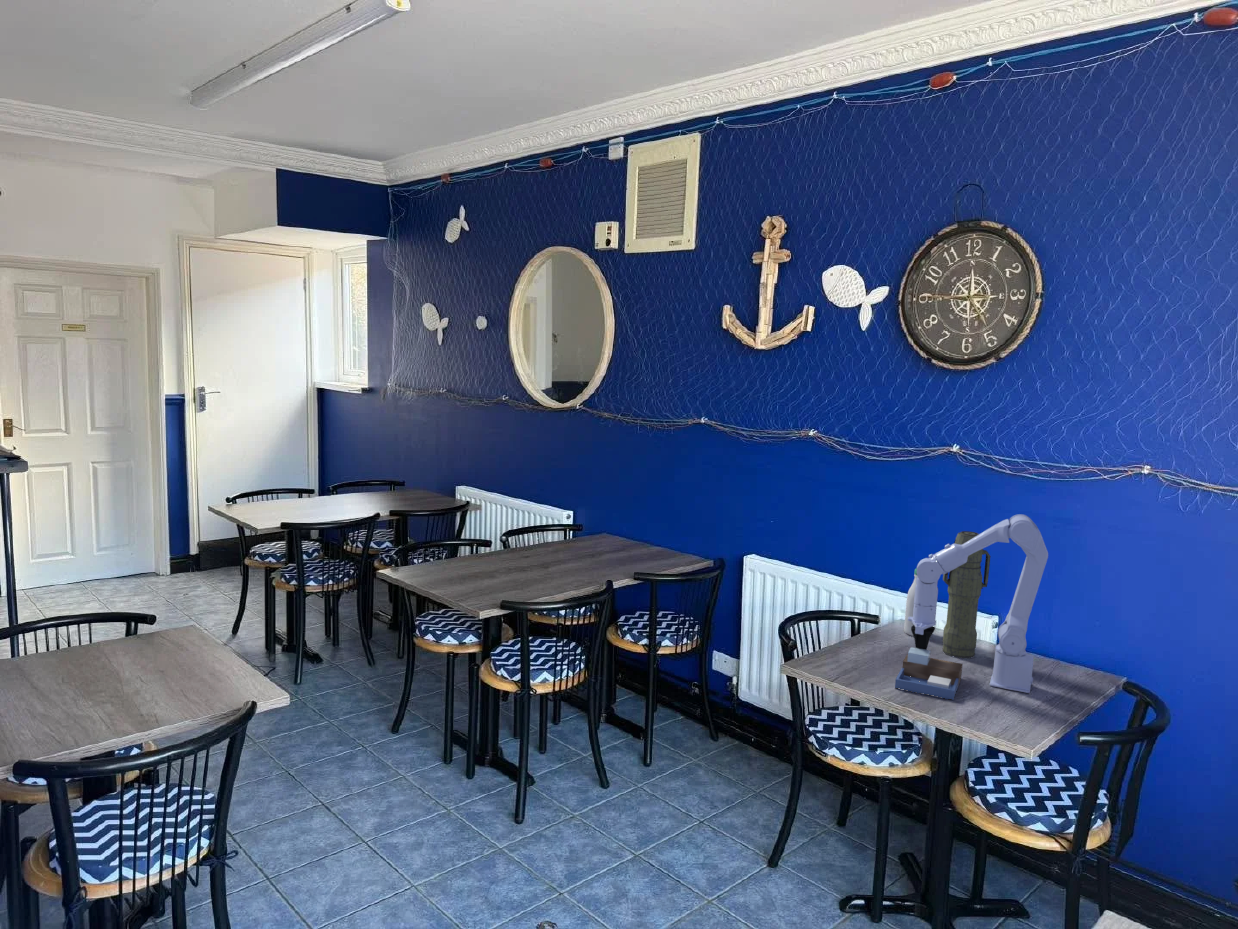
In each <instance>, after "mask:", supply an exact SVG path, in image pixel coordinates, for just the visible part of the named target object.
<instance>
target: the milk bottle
mask: <svg viewBox="0 0 1238 929" xmlns="http://www.w3.org/2000/svg"><path fill="white" fill-rule="evenodd" d="M913 576H914V579H913V581H912V584H911V586H910V587H909V589H908V591H907V595H906V601H905V602H906V604H905V612H904V614H905V615H904V625H903V627H904V628H903V631H904V633H905V634H906V635H908V636H912V637H914V636H913V633H912V631H911V627H912V626H913V625H914V624H913V623H912V622H911V621H908V617H913V608H914V596H915V586H916V585H917V584H916V579H917V577H918V576H917V567H916V568H915V569H914V575H913Z"/></svg>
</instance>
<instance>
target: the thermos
mask: <svg viewBox="0 0 1238 929" xmlns="http://www.w3.org/2000/svg"><path fill="white" fill-rule="evenodd" d="M979 534H980V533H978V532H976V531H968V530H963V531H960V532H958V533H957V534H956V536H955V539H954V543H955V544H959V545H962V544H964V543H966V542H967V541H969V540H971V539H972V538H974V537H976V536H977V535H979ZM954 543H953V544H954ZM983 555H984V556H985V561H984V570H983V571H984V572H983V573H984V574H983V573H982V565H981V563H982V560H983ZM990 565H991V554H990V553H989V552H988V550H987V549H984V548H983V549H981V550H979V551H977V552H975V553H973V554H971V555H969V556H968V559H967V562H966V563H965V564H963V565H961V566H959V567H957V568H955V569H954V570H952V571H950V572H948V573H946V574H942V581H943V582H944V583H945V584H946V585H947V593H948V602H947V615H946V623H945V625H944V627H943V636H942V651H943V652H944V653H945V655H947V656H948V657H952V656H954V657H953V658H956V657H958V658H957V659H964V658H967V659H972V658H971V657H973V658H974V657H975V655H976V654H975V650H976V648H977V641H978V640H977V639H978V632H977V629H976V628H977V618H978V610H979V599H980V597H981V595H982V589H983V588H987V587H988V582H989V578H990V577H989V576H990ZM982 574H983V575H982ZM943 652H942V653H943ZM944 653H943V654H944Z"/></svg>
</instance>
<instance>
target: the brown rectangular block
mask: <svg viewBox="0 0 1238 929" xmlns="http://www.w3.org/2000/svg"><path fill="white" fill-rule="evenodd" d="M907 659H908V653H906V655H905V656H904V658H903V661H902V667H901V669H902V668H904V675H905V676H911V677H915V678H920V679H925V680H928V679H929V677H930V675H932V676H937V677H942V678H947V679H951V685H954V683H955V680H956V678H957V679H959V681H958V687H959V685H960V683H961V680H962V672H963V663H959V662H956V661H955V662H954V661H950V660H944V659H938V658H932V657H930V661H929V663H928V665H923V664H917V663H912V662H907Z"/></svg>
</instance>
